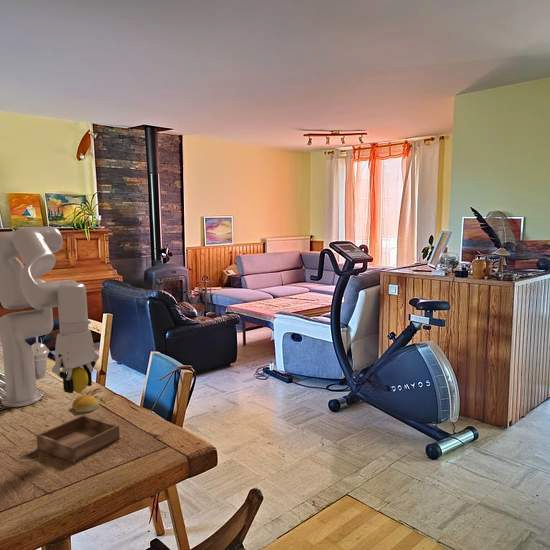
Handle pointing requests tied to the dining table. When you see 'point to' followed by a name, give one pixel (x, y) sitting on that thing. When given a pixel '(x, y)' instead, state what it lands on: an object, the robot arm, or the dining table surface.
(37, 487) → the dining table surface
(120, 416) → the dining table surface
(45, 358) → the cup with straw
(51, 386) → the dining table surface
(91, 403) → the bread roll
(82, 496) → the dining table surface
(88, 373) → the robot arm
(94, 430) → the bin
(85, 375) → the lemon
